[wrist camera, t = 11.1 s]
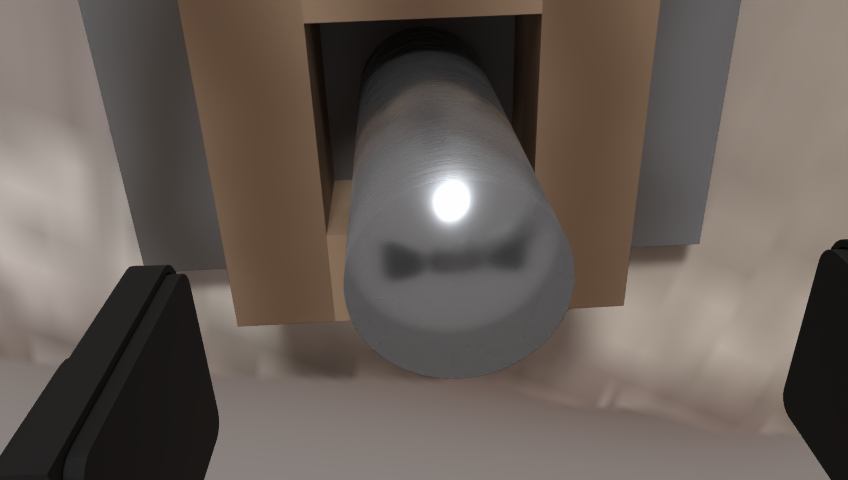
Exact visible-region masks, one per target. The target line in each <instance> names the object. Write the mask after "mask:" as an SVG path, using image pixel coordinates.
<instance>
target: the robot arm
mask: <svg viewBox="0 0 848 480" xmlns="http://www.w3.org/2000/svg"><path fill="white" fill-rule="evenodd" d="M783 402H784V407H785V410H786V413H787V414H788V416H789V418H790V419H791V421H792V422H793V424H794V425H795V427H796V428H797V430H798V431H799V433H800V434H801V436H802V437H803V439H804V440H805V442H806V443H807V445H808V446H809V448H810V449H811V451H812V452H813V454H814V455H815V457H816V458H817V460H818V461H819V463H820V464H821V466H822V467H823V469H824V470H825V472H826V473H827V474H828V476H829V477H830V479H831V480H848V239H843V240H839V241H837V242H836V243H835V244H834V245H833V246H832V248H831V250H826V251H824V252H823V254H822V255H821V257H820V259H819V263H818V266H817V270H816V274H815V277H814V281H813V285H812V288H811V292H810V296H809V299H808V303H807V307H806V310H805V314H804V318H803V321H802V325H801V329H800V332H799V336H798V340H797V343H796V347H795V351H794V354H793V358H792V362H791V365H790V369H789V373H788V376H787V380H786V383H785V387H784V392H783ZM218 430H219V416H218V409H217V405H216V400H215V395H214V391H213V386H212V382H211V377H210V373H209V368H208V364H207V359H206V355H205V350H204V346H203V341H202V337H201V332H200V328H199V323H198V319H197V314H196V310H195V305H194V300H193V296H192V291H191V287H190V283H189V279H188V277H187V276H186V275H185V274H176V271H175V270H174V268H173V267H172V266H171V265H149V266H131V267H129V268H128V269H127V270H126V272H125V273H124V275H123V276H122V278H121V279H120V281H119V282H118V284H117V285H116V287H115V288H114V290H113V292H112V293H111V295H110V296H109V298H108V299H107V301H106V302H105V304H104V305H103V307H102V308H101V310H100V311H99V313H98V314H97V316H96V318H95V319H94V321H93V322H92V324H91V325H90V327H89V328H88V330H87V331H86V333H85V334H84V336H83V337H82V339H81V340H80V342H79V344H78V345H77V347H76V348H75V350H74V351H73V353H72V354H71V356H70V357H69V358H68V359H66V360H65V361H64V362H63V363H62V364H61V365H60V366H59V368H58V369H57V371H56V372H55V374H54V375H53V377H52V378H51V380H50V381H49V383H48V384H47V386H46V388H45V389H44V390H43V392H42V394H41V395H40V396H39V398H38V400H37V401H36V402H35V404H34V406H33V407H32V409H31V410H30V412H29V413H28V415H27V416H26V418H25V419H24V421H23V422H22V424H21V425H20V427H19V428H18V430H17V431H16V433H15V434H14V436H13V437H12V439H11V440H10V442H9V443H8V445H7V446H6V448H5V449H4V451H3V453H2V454H1V455H0V480H204V478H205V474H206V472H207V468H208V465H209V462H210V459H211V456H212V453H213V449H214V446H215V443H216V440H217V436H218Z"/></svg>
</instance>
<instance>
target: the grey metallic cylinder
mask: <svg viewBox="0 0 848 480" xmlns="http://www.w3.org/2000/svg"><path fill="white" fill-rule="evenodd" d="M343 281H344V297H345V303H346V307H347V310H348V313H349V316H350V319H351V321H352V322H353V324H354V326H355V328H356V330H357V331H358V333H359V334H360V336H361V337H362V338H363V340H364V341H365V342H366V343H367V344H368V345H369V346H370V347H371V348H372V349H373V350H374V351H375V352H377V353H378V354H379V355H380V356H381V357H383V358H384V359H386V360H388V361H389V362H391V363H392V364H394V365H396V366H398V367H401V368H403V369H405V370H408V371H411V372H414V373H417V374H420V375H425V376H430V377H436V378H446V379H447V378H469V377H476V376H481V375H486V374H489V373H493V372H496V371H499V370H502V369H504V368H506V367H508V366H511V365H513V364H515V363H517V362H518V361H520V360H522V359H523V358H525V357H527V356H528V355H529V354H531V353H532V352H533V351H535V350H536V349H537V348H539V347H540V346H541V345H542V344H543V343H544V342H545V341H546V340H547V339H548V338H549V337H550V335H551V334H552V333H553V332H554V331H555V329H556V328H557V327H558V325H559V323H560V322H561V320H562V319H563V317H564V315H565V313H566V311H567V308H568V306H569V303H570V300H571V297H572V294H573V288H574V281H575V266H574V259H573V254H572V251H571V247H570V244H569V241H568V239H567V237H566V235H565V233H564V231H563V229H562V227H561V225H560V223H559V221H558V219H557V217H556V215H555V213H554V211H553V209H552V207H551V205H550V203H549V201H548V199H547V197H546V195H545V193H544V191H543V189H542V187H541V185H540V183H539V181H538V179H537V177H536V175H535V173H534V171H533V169H532V167H531V165H530V163H529V161H528V158H527V156H526V154H525V152H524V150H523V148H522V146H521V144H520V142H519V140H518V138H517V136H516V134H515V132H514V130H513V128H512V126H511V124H510V122H509V120H508V118H507V116H506V114H505V112H504V110H503V108H502V106H501V104H500V102H499V100H498V98H497V96H496V94H495V92H494V90H493V88H492V86H491V84H490V82H489V80H488V78H487V76H486V74H485V72H484V70H483V68H482V66H481V64H480V62H479V60H478V57H477V56H476V54H475V53H474V51H473V50H472V49H471V48H470V47H469V45H468V44H467V43H466V42H464V41H463V40H462V39H461V38H459V37H458V36H456V35H455V34H453V33H451V32H448V31H446V30H443V29H440V28H435V27H427V26H420V27H412V28H408V29H404V30H401V31H399V32H396V33H394V34H393V35H391V36H389V37H388V38H386V39H385V40H384V41H382V42H381V43H380V44H379V45H378V46H377V47H376V48H375V50H374V51H373V52H372V53H371V55H370V57H369V58H368V60H367V62H366V64H365V67H364V69H363V73H362V77H361V84H360V95H359V107H358V118H357V130H356V141H355V153H354V164H353V176H352V187H351V199H350V210H349V222H348V233H347V245H346V256H345V268H344V279H343Z"/></svg>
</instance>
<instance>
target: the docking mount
mask: <svg viewBox="0 0 848 480" xmlns="http://www.w3.org/2000/svg"><path fill="white" fill-rule="evenodd" d="M78 2H79V6H80V10H81V14H82V18H83V22H84V26H85V30H86V34H87V38H88V42H89V46H90V50H91V54H92V58H93V62H94V66H95V70H96V74H97V78H98V82H99V86H100V91H101V95H102V99H103V103H104V107H105V111H106V115H107V119H108V123H109V127H110V131H111V135H112V139H113V143H114V147H115V151H116V155H117V159H118V163H119V167H120V171H121V175H122V179H123V183H124V187H125V191H126V195H127V199H128V203H129V207H130V211H131V215H132V219H133V223H134V227H135V232H136V236H137V240H138V244H139V248H140V252H141V256H142V260H143V264H144V266H149V265H171V266H172V267H173V268H174V270H175V271H186V270H205V269H225V268H227V270H228V276H229V281H230V287H231V292H232V297H233V303H234V308H235V314H236V319H237V324H238V327H240V326H258V325H277V324H295V323H313V322H332V321H350V320H351V319H350V316H349V313H348V310H347V307H346V303H345V297H344V281H343V279H344V268H345V256H346V245H347V233H348V222H349V210H350V199H351V187H352V176H353V164H354V153H355V141H356V130H357V118H358V107H359V95H360V84H361V77H362V73H363V69H364V67H365V64H366V62H367V60H368V58H369V57H370V55H371V53H372V52H373V51H374V50H375V48H376V47H377V46H378V45H379V44H380V43H381V42H382V41H384V40H385V39H386V38H388V37H389V36H391V35H393V34H394V33H396V32H399V31H401V30H404V29H408V28H412V27H420V26H427V27H435V28H440V29H443V30H446V31H448V32H451V33H453V34H455V35H456V36H458V37H459V38H461V39H462V40H463V41H464V42H466V43H467V44H468V45H469V47H470V48H471V49H472V50H473V51H474V53H475V54H476V56H477V57H478V60H479V62H480V64H481V66H482V68H483V70H484V72H485V74H486V76H487V78H488V80H489V82H490V84H491V86H492V88H493V90H494V92H495V94H496V96H497V98H498V100H499V102H500V104H501V106H502V108H503V110H504V112H505V114H506V116H507V118H508V120H509V122H510V124H511V126H512V128H513V130H514V132H515V134H516V136H517V138H518V140H519V142H520V144H521V146H522V148H523V150H524V152H525V154H526V156H527V158H528V161H529V163H530V165H531V167H532V169H533V171H534V173H535V175H536V177H537V179H538V181H539V183H540V185H541V187H542V189H543V191H544V193H545V195H546V197H547V199H548V201H549V203H550V205H551V207H552V209H553V211H554V213H555V215H556V217H557V219H558V221H559V223H560V225H561V227H562V229H563V231H564V233H565V235H566V237H567V239H568V241H569V244H570V247H571V251H572V254H573V259H574V266H575V281H574V288H573V294H572V297H571V300H570V303H569V306H568V308H567V309H572V308H590V307H608V306H624V299H625V290H626V282H627V274H628V266H629V257H630V249H631V247H650V246H669V245H689V244H699V242H700V236H701V230H702V224H703V218H704V213H705V207H706V201H707V195H708V189H709V183H710V178H711V172H712V166H713V160H714V154H715V149H716V143H717V137H718V131H719V125H720V119H721V114H722V108H723V102H724V96H725V90H726V84H727V79H728V73H729V67H730V61H731V55H732V50H733V44H734V38H735V32H736V26H737V20H738V15H739V9H740V3H741V0H78Z"/></svg>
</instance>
